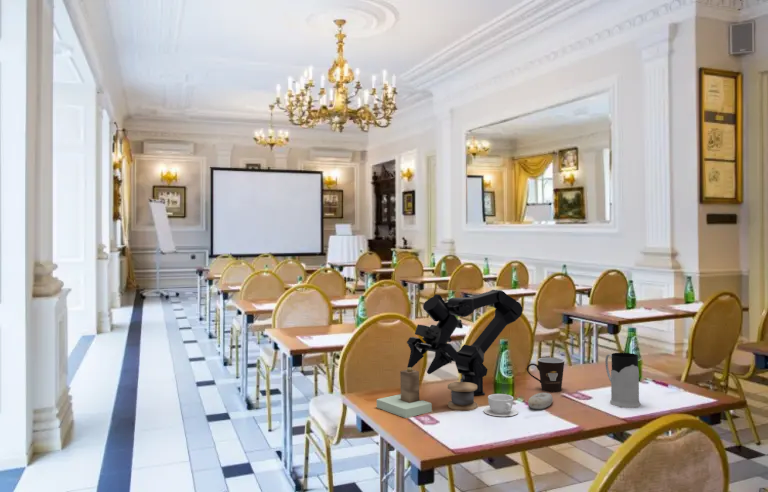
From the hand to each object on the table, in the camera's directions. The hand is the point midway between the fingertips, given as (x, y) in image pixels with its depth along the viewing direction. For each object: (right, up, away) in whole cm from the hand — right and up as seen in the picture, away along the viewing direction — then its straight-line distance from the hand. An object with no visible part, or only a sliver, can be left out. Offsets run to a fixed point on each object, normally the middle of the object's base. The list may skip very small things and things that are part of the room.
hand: (418, 370), depth 180 cm
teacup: (+24, -11, -8) cm, 27 cm away
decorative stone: (+38, -11, 0) cm, 39 cm away
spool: (+14, -11, -1) cm, 17 cm away
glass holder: (+63, -10, +2) cm, 64 cm away
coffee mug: (+45, -10, +18) cm, 49 cm away
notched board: (-5, -11, -3) cm, 12 cm away
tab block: (-3, -11, -2) cm, 11 cm away
